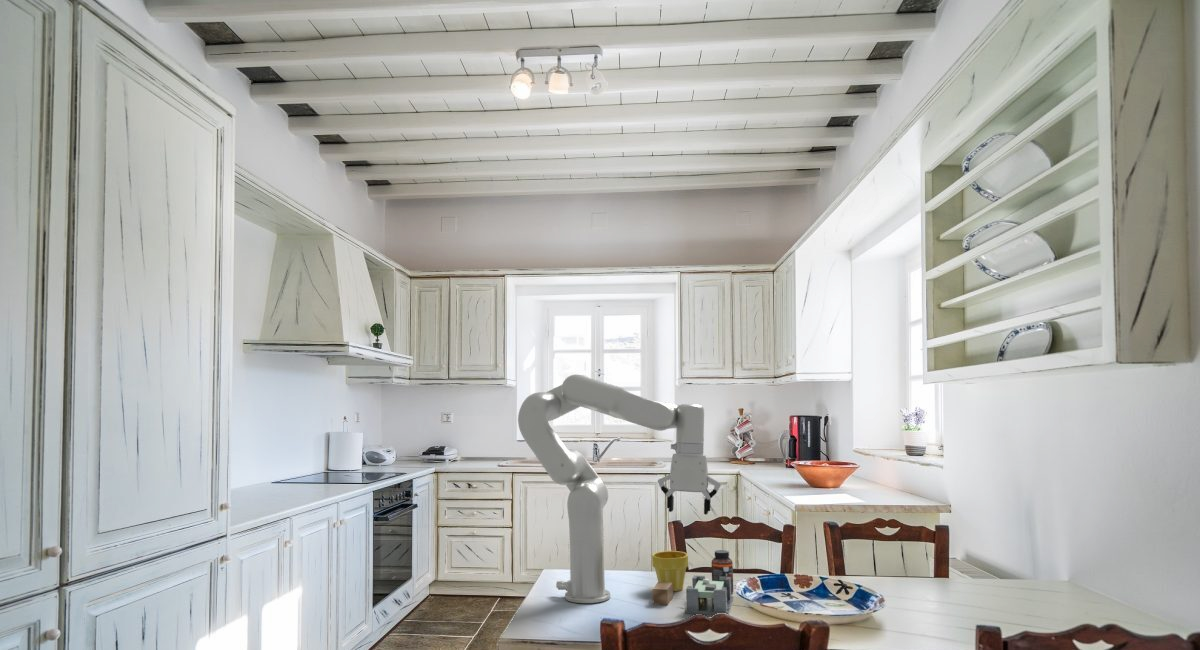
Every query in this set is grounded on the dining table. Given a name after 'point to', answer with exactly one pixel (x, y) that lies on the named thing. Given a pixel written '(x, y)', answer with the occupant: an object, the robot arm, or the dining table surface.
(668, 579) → the plant pot
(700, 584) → the board
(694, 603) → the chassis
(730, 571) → the supplement bottle
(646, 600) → the dining table surface
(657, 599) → the wooden block
